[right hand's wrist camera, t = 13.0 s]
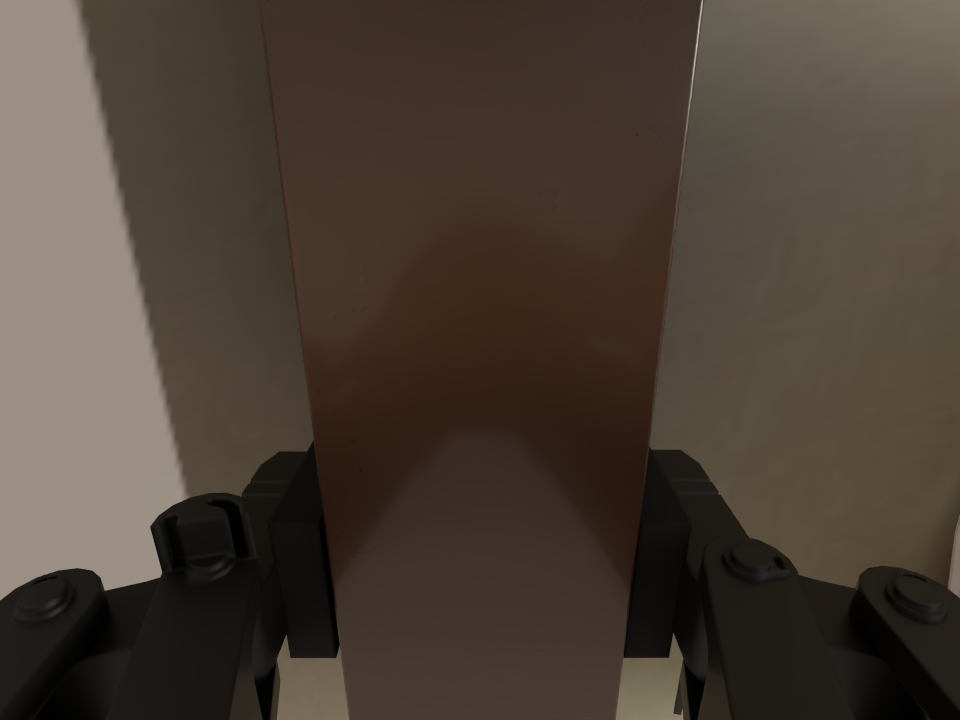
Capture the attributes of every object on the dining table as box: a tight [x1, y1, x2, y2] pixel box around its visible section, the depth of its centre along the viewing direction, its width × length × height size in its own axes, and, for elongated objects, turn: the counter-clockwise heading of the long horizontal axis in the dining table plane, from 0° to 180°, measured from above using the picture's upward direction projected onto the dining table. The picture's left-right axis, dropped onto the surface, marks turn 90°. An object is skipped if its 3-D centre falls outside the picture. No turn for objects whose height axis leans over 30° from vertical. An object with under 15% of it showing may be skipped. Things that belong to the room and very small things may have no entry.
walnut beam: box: [258, 0, 704, 720], centre depth 9 cm, size 22×4×7 cm, turn 0°
